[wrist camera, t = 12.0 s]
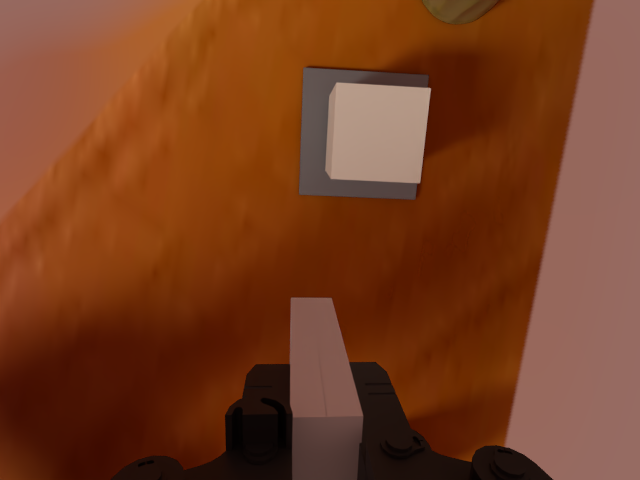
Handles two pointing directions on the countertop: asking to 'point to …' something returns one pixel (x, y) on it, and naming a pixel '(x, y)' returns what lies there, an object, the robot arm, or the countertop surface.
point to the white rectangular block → (376, 132)
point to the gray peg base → (315, 134)
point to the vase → (458, 9)
